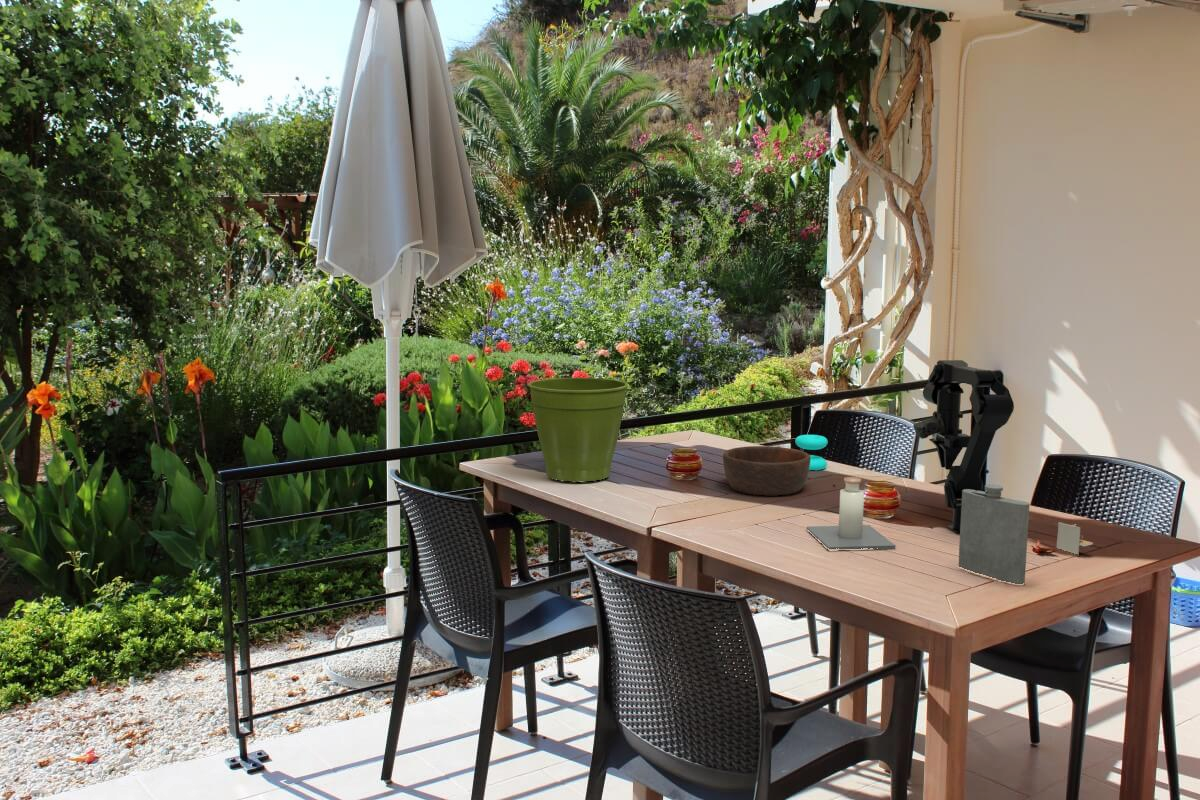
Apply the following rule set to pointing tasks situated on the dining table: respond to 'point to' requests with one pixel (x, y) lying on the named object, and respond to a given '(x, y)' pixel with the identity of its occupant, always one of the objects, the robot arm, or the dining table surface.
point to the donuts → (813, 444)
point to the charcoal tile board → (833, 540)
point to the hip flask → (993, 534)
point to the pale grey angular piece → (1070, 538)
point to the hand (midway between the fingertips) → (945, 468)
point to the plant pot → (578, 425)
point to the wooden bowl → (766, 470)
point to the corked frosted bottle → (851, 509)
